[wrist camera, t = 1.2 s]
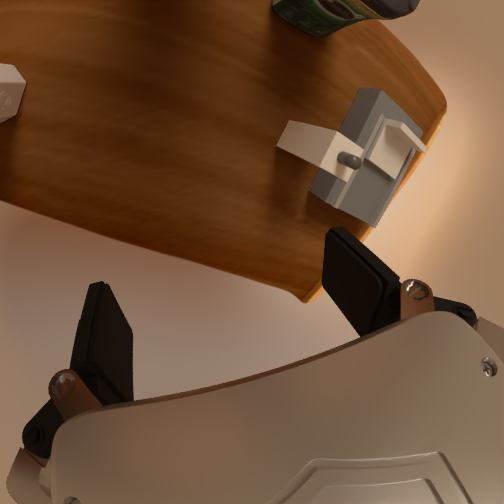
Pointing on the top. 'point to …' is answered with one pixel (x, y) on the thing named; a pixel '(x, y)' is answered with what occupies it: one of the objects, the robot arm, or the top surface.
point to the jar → (10, 91)
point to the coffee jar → (338, 13)
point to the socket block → (365, 160)
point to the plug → (322, 148)
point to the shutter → (393, 146)
